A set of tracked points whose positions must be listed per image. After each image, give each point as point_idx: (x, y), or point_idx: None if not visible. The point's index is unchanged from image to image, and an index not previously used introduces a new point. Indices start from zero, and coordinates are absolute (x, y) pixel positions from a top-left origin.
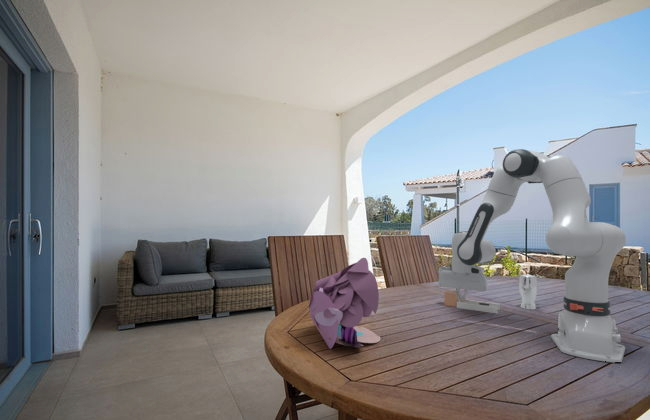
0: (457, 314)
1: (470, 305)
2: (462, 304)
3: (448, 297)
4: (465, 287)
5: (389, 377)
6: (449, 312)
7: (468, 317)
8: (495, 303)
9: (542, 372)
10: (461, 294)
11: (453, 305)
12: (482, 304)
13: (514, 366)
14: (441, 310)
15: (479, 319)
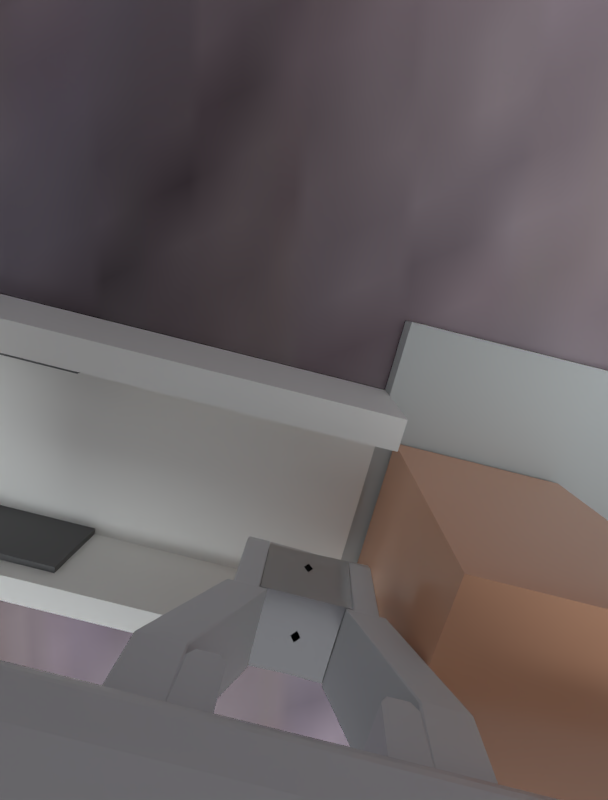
0: (390, 136)
1: (178, 355)
2: (307, 388)
3: (579, 537)
4: (118, 770)
5: None
6: (498, 216)
7: (240, 7)
8: None
9: None
10: (310, 675)
11: (435, 458)
12: (22, 544)
13: None
14: (604, 295)
15: None
